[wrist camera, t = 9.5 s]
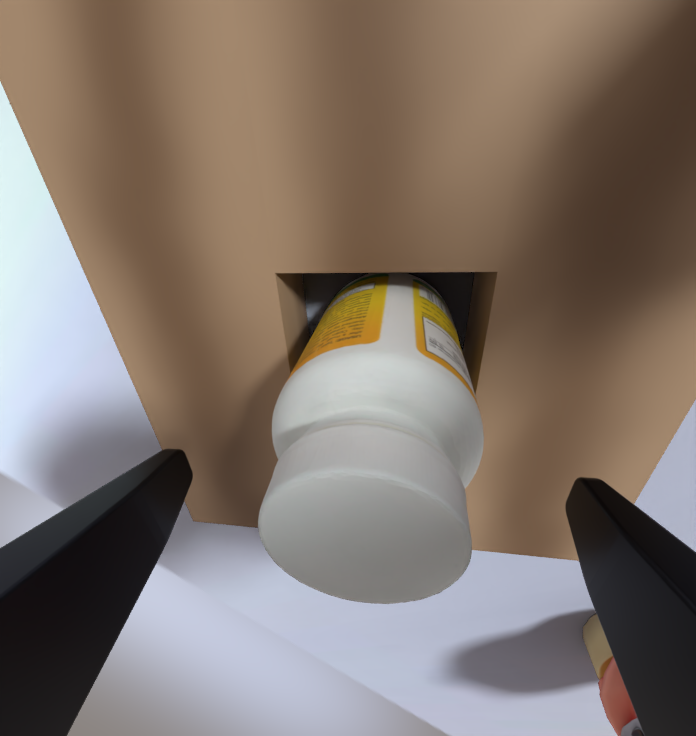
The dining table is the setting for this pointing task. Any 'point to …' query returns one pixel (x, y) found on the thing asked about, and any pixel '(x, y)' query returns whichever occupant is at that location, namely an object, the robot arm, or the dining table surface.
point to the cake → (610, 681)
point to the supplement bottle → (375, 448)
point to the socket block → (382, 215)
